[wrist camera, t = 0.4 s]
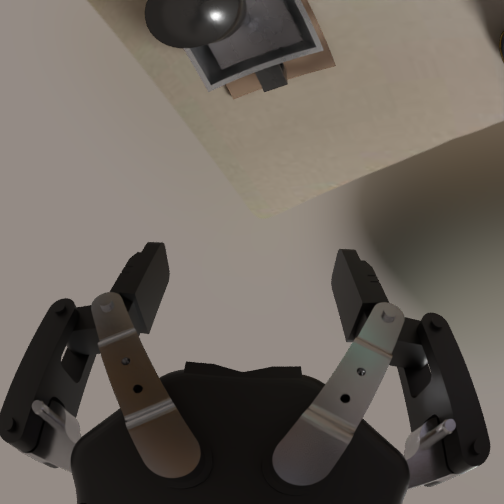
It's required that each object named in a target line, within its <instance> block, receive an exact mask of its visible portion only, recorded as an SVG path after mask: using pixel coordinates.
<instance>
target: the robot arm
mask: <svg viewBox="0 0 504 504" xmlns="http://www.w3.org/2000/svg"><path fill="white" fill-rule="evenodd" d="M169 274H170V273H169V266H168V260H167V255H166V249H165V245H164V243H159V242H148V243H147V244H146V245H145V247H144V249H143V251H142V252H137V253H136V254H135V255H134V256H132V257H131V258H130V259H129V260H128V262H127V264H126V265H125V267H124V269H123V270H122V273H120V275H119V277H118V278H117V280H116V282H115V284H114V286H113V287H112V289H111V290H110V292H107V293H104V294H101V295H99V296H98V297H97V298H96V299H95V300H94V301H93V302H92V305H90V306H84V307H76V306H75V304H74V302H73V301H72V300H71V299H66V298H65V299H60V300H58V301H56V302H55V303H54V304H53V305H51V307H50V308H49V310H48V312H47V313H46V315H45V317H44V318H43V320H42V322H41V324H40V326H39V327H38V329H37V331H36V333H35V335H34V337H33V339H32V341H31V342H30V345H29V346H28V349H27V351H26V352H25V355H24V357H23V359H22V361H21V363H20V365H19V367H18V370H17V372H16V374H15V377H14V379H13V381H12V383H11V386H10V388H9V391H8V393H7V396H6V399H5V401H4V404H3V407H2V409H1V412H0V436H1V437H2V439H3V440H5V441H6V442H7V443H9V444H10V445H12V446H14V447H15V448H17V449H18V450H19V451H20V452H22V453H24V454H26V455H27V456H29V457H31V458H33V459H34V460H36V461H38V462H42V463H44V464H45V465H47V466H49V467H53V468H58V467H60V468H62V469H64V470H67V471H69V472H72V475H73V479H74V483H75V487H76V494H77V504H402V502H403V499H404V497H405V494H406V492H407V490H408V489H412V488H415V487H419V486H422V485H424V486H427V487H431V486H434V485H437V484H440V483H442V482H445V481H447V480H449V479H452V478H454V477H456V476H458V475H461V474H463V473H465V472H467V471H469V470H471V469H473V468H475V467H477V466H479V465H481V464H482V463H484V462H485V460H486V459H487V457H488V455H489V452H490V440H489V436H488V432H487V428H486V424H485V421H484V417H483V413H482V410H481V407H480V403H479V400H478V397H477V394H476V391H475V388H474V385H473V382H472V379H471V377H470V374H469V371H468V369H467V366H466V364H465V361H464V359H463V356H462V354H461V352H460V349H459V347H458V344H457V342H456V340H455V338H454V335H453V333H452V331H451V329H450V327H449V325H448V323H447V321H446V320H445V319H444V318H443V317H442V316H440V315H438V314H436V313H427V314H425V315H424V316H423V318H422V320H421V321H419V320H414V319H410V318H406V317H404V314H403V312H402V311H401V310H400V308H399V307H397V306H396V305H394V304H391V303H389V301H388V299H387V297H386V295H385V293H384V290H383V288H382V286H381V284H380V283H379V280H378V279H377V277H376V274H375V272H374V270H373V268H372V267H371V266H370V265H369V264H368V263H367V262H366V261H361V260H360V258H359V256H358V254H357V252H356V250H350V249H339V251H338V253H337V257H336V261H335V266H334V270H333V274H332V281H331V284H332V290H333V294H334V297H335V301H336V304H337V308H338V312H339V315H340V319H341V323H342V327H343V331H344V334H345V338H346V342H353V343H352V344H351V346H350V348H349V349H348V351H347V352H346V354H345V356H344V357H343V359H342V360H341V362H340V363H339V365H338V367H337V368H336V370H335V371H334V373H333V374H332V376H331V377H330V378H329V380H328V382H327V383H326V384H324V383H322V382H321V381H319V380H317V379H315V378H312V377H309V376H306V375H302V372H301V367H300V366H299V367H268V368H264V369H258V370H253V371H247V372H240V371H236V370H232V369H228V368H225V367H222V366H219V365H215V364H206V363H195V362H186V364H185V369H184V370H178V371H174V372H171V373H168V374H166V375H164V376H162V377H160V378H159V377H158V375H157V373H156V371H155V369H154V367H153V365H152V363H151V361H150V359H149V357H148V355H147V353H146V351H145V349H144V347H143V345H142V343H141V341H140V338H139V335H140V333H146V334H149V333H150V330H151V327H152V324H153V321H154V319H155V316H156V313H157V311H158V308H159V305H160V303H161V300H162V297H163V295H164V292H165V290H166V287H167V284H168V282H169ZM66 346H67V347H68V348H67V350H66V352H65V355H64V357H63V359H62V361H61V356H62V354H63V351H64V349H65V347H66ZM100 353H101V357H102V360H103V363H104V366H105V369H106V372H107V374H108V377H109V380H110V383H111V386H112V388H113V391H114V394H115V396H116V399H117V401H118V404H119V406H120V409H118V410H117V411H116V412H114V413H113V414H112V415H111V416H109V417H108V418H106V419H105V420H104V421H102V422H101V423H100V424H98V425H97V426H96V427H94V428H93V429H92V430H90V431H89V432H88V433H86V434H85V435H84V436H82V437H81V434H80V426H79V423H78V421H77V419H76V416H77V412H78V409H79V405H80V402H81V399H82V395H83V392H84V389H85V386H86V383H87V380H88V377H89V374H90V371H91V368H92V365H93V363H94V360H95V357H96V354H100ZM428 364H429V366H428ZM389 365H391V366H397V368H398V372H399V376H400V380H401V384H402V388H403V393H404V397H405V402H406V406H407V411H408V415H409V421H410V427H411V432H412V433H411V434H410V435H409V436H408V438H407V440H406V443H405V451H404V456H403V455H402V454H401V453H400V452H399V451H398V450H397V449H396V448H395V447H394V446H393V445H392V444H390V443H389V442H388V441H387V440H386V439H385V438H384V437H382V436H381V435H380V434H379V433H378V432H377V431H376V430H375V429H374V428H372V427H371V426H370V425H369V424H368V423H367V422H366V421H365V420H364V419H363V416H364V414H365V412H366V410H367V409H368V407H369V405H370V403H371V401H372V399H373V397H374V395H375V393H376V391H377V389H378V387H379V385H380V383H381V381H382V379H383V377H384V375H385V372H386V370H387V368H388V366H389ZM429 367H430V369H429ZM430 370H431V372H430Z"/></svg>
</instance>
